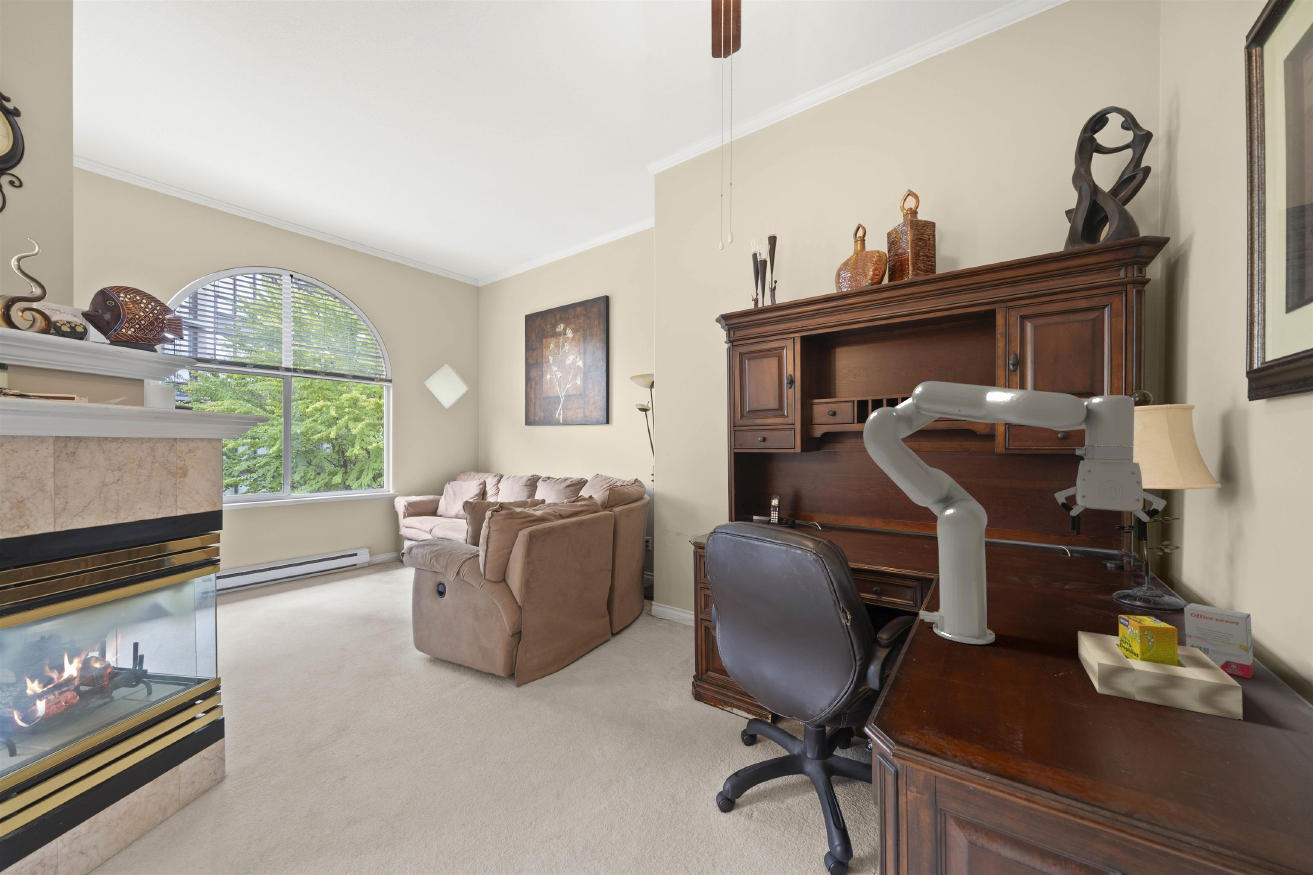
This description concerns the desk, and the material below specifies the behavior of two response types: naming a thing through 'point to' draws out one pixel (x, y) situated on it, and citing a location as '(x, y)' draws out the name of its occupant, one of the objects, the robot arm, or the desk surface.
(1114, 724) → the desk surface
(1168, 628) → the supplement box
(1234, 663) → the ink box
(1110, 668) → the well block
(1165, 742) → the desk surface
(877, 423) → the robot arm
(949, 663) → the desk surface
